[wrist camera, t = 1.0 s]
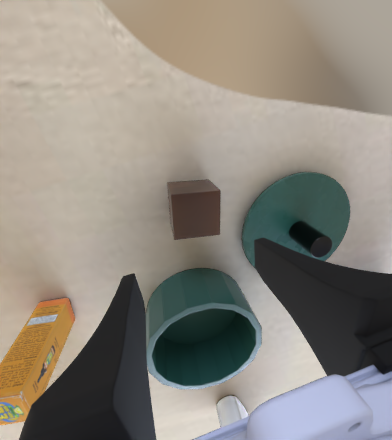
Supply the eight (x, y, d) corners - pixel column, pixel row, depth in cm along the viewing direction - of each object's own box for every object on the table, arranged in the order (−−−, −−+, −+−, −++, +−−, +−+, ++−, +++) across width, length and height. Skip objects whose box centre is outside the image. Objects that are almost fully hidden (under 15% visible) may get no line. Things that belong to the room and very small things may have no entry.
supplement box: (35, 300, 25) (-30, 403, 16) (69, 296, 25) (25, 392, 16) (44, 323, 26) (-12, 430, 17) (76, 318, 27) (39, 419, 18)
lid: (350, 162, 26) (395, 171, 21) (335, 261, 31) (368, 285, 26) (237, 181, 24) (258, 195, 19) (241, 282, 29) (259, 312, 25)
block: (208, 179, 23) (220, 190, 19) (209, 217, 25) (220, 234, 21) (167, 182, 23) (170, 194, 19) (170, 221, 24) (174, 240, 20)
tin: (239, 258, 28) (261, 291, 22) (243, 331, 33) (261, 372, 27) (136, 280, 26) (133, 321, 21) (156, 353, 31) (158, 401, 26)
